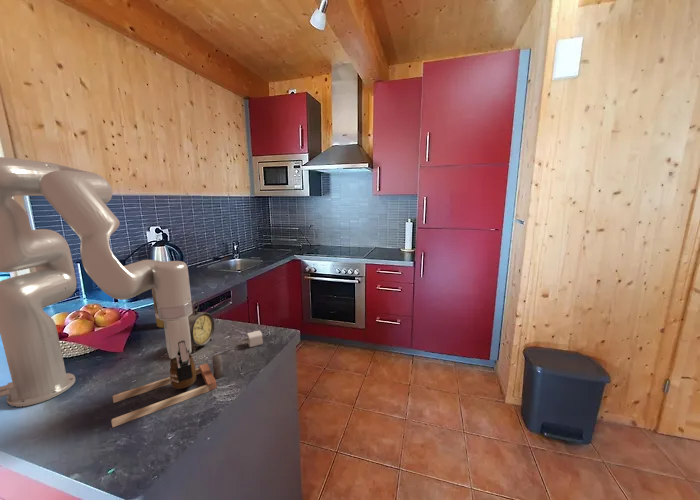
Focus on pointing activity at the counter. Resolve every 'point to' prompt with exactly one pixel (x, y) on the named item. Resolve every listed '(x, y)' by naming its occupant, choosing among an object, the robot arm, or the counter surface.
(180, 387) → the utensil holder
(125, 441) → the counter surface
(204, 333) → the alarm clock
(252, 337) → the usb wall charger
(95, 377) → the counter surface
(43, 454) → the counter surface
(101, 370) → the counter surface
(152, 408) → the guide channel
